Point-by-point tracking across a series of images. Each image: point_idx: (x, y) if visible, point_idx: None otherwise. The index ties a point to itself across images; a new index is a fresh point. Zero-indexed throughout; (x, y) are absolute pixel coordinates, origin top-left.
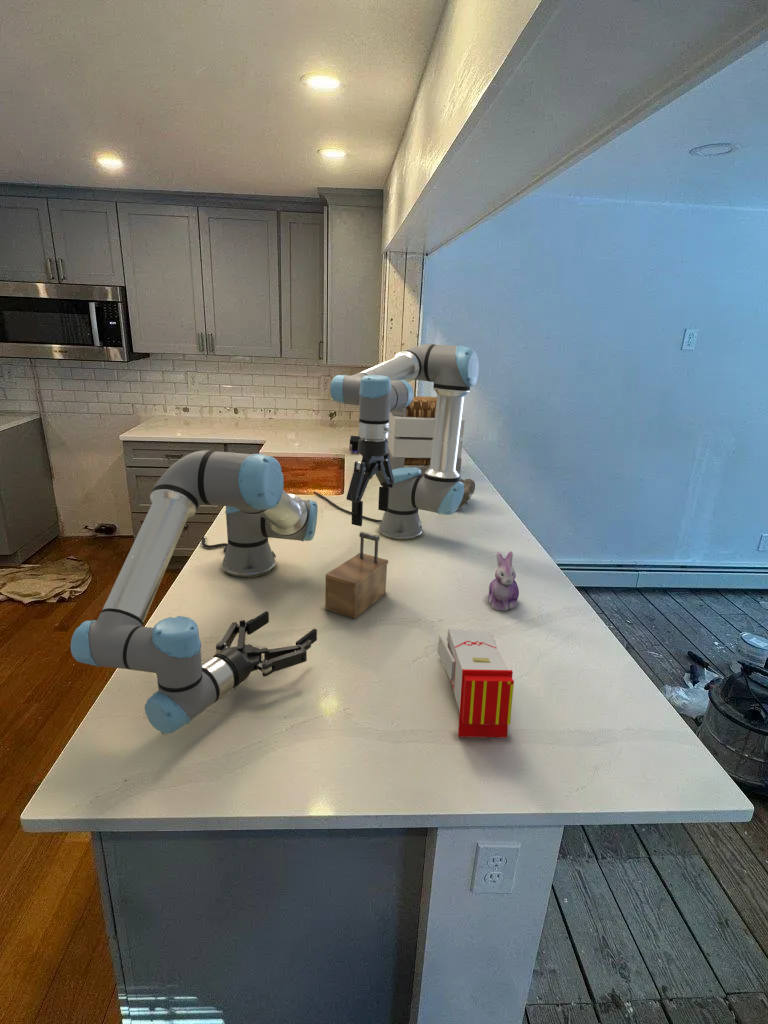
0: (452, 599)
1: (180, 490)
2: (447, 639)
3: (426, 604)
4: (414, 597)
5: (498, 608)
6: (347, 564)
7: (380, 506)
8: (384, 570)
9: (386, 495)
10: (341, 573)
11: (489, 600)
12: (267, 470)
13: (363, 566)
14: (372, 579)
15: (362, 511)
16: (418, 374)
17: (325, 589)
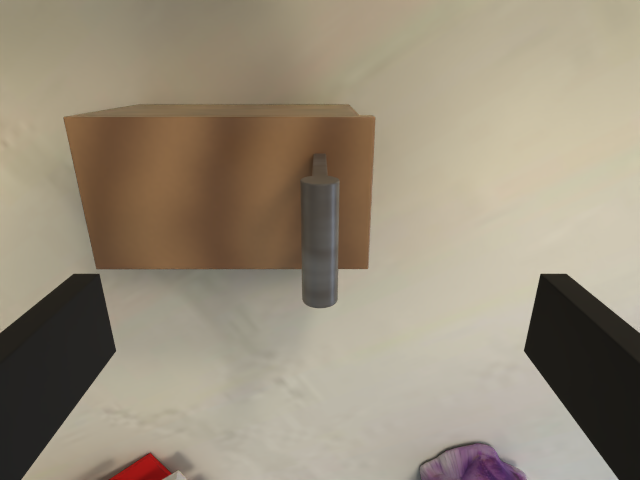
0: (420, 378)
1: None
2: (176, 472)
3: (355, 338)
4: (375, 296)
5: (422, 477)
6: (216, 143)
7: (556, 312)
8: None
9: (625, 473)
10: (122, 173)
11: (445, 458)
12: None
13: (245, 215)
14: None
15: (39, 453)
16: None
17: (102, 110)
